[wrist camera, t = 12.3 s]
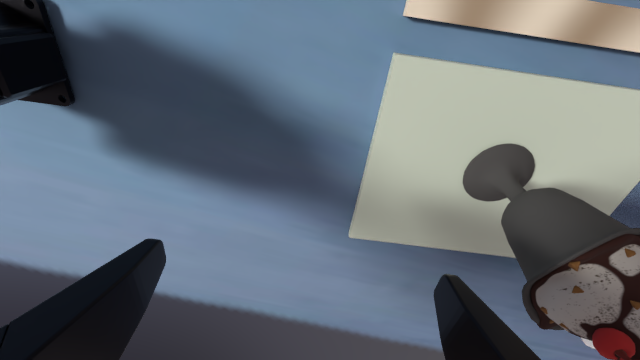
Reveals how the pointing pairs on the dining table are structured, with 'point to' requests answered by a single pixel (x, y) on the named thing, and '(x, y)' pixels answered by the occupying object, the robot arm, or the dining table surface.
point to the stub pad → (480, 134)
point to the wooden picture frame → (540, 19)
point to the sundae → (565, 254)
